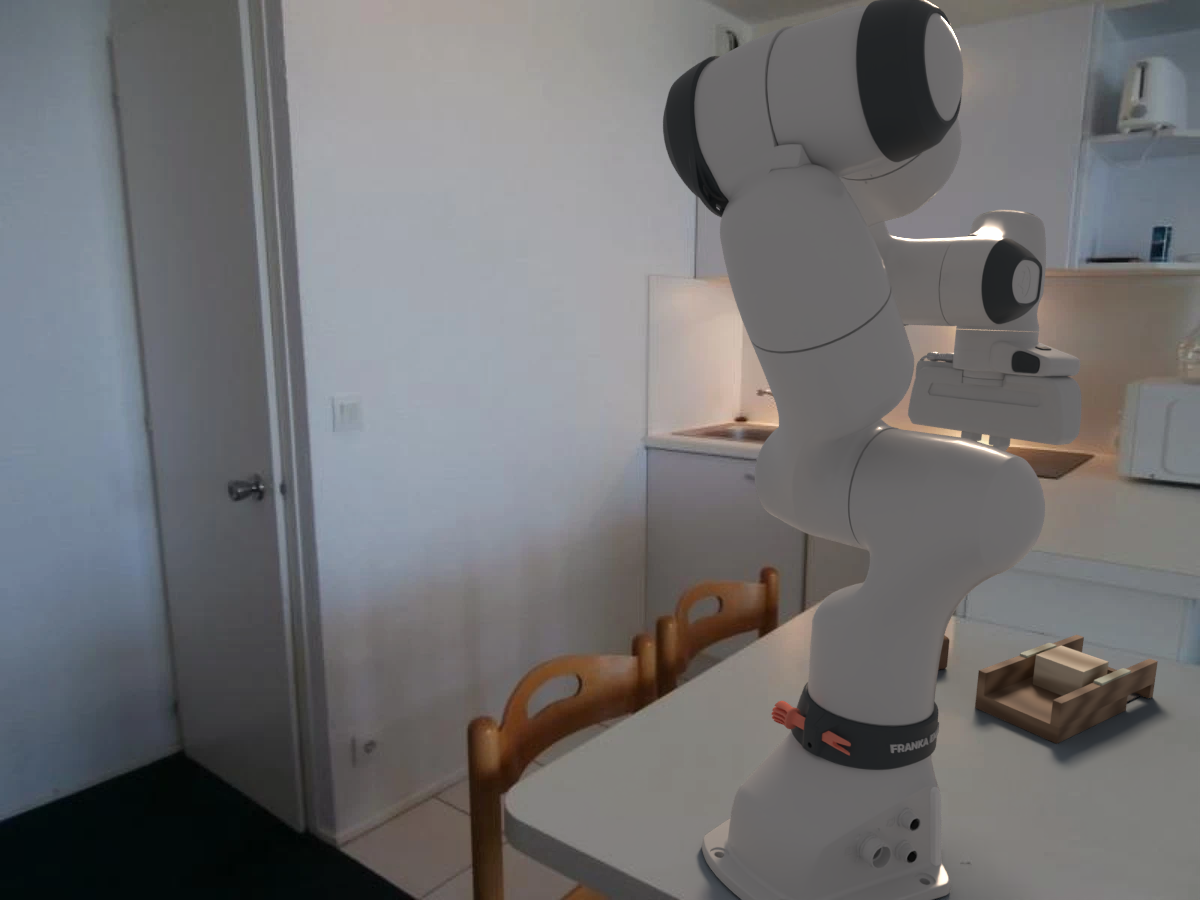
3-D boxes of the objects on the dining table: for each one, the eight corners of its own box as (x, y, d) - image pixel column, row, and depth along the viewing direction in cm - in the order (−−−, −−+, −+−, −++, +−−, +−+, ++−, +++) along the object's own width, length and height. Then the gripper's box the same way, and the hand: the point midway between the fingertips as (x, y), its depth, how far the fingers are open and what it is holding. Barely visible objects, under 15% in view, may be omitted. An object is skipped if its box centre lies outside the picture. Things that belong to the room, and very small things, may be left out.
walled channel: (1056, 743, 98) (1061, 701, 97) (974, 707, 107) (978, 668, 106) (1152, 697, 111) (1158, 659, 110) (1072, 668, 119) (1076, 632, 118)
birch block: (1079, 702, 104) (1083, 672, 104) (1032, 684, 109) (1036, 654, 109) (1104, 691, 108) (1108, 661, 107) (1058, 673, 113) (1061, 645, 112)
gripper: (902, 350, 107) (893, 459, 109) (1064, 361, 90) (1048, 489, 92) (934, 351, 110) (924, 456, 112) (1095, 361, 93) (1080, 485, 95)
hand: (981, 471), depth 102 cm, fingers closed
